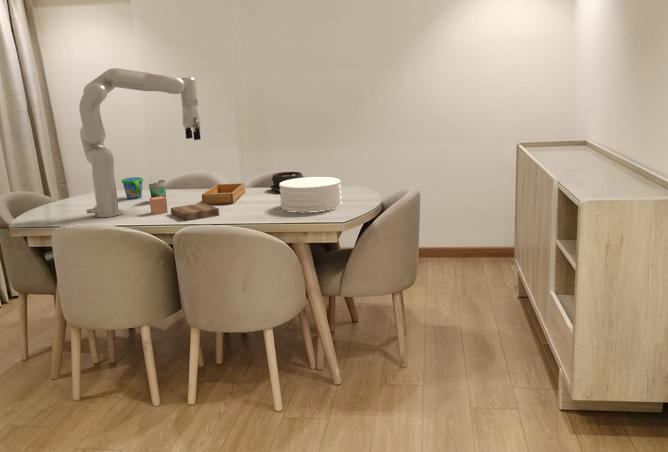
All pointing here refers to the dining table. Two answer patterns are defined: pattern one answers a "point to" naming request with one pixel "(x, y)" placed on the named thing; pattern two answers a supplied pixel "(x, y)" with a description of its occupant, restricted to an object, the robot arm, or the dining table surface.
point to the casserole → (284, 178)
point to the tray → (223, 193)
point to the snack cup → (133, 187)
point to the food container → (158, 189)
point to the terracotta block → (158, 205)
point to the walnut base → (194, 211)
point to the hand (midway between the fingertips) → (193, 139)
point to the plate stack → (310, 194)
